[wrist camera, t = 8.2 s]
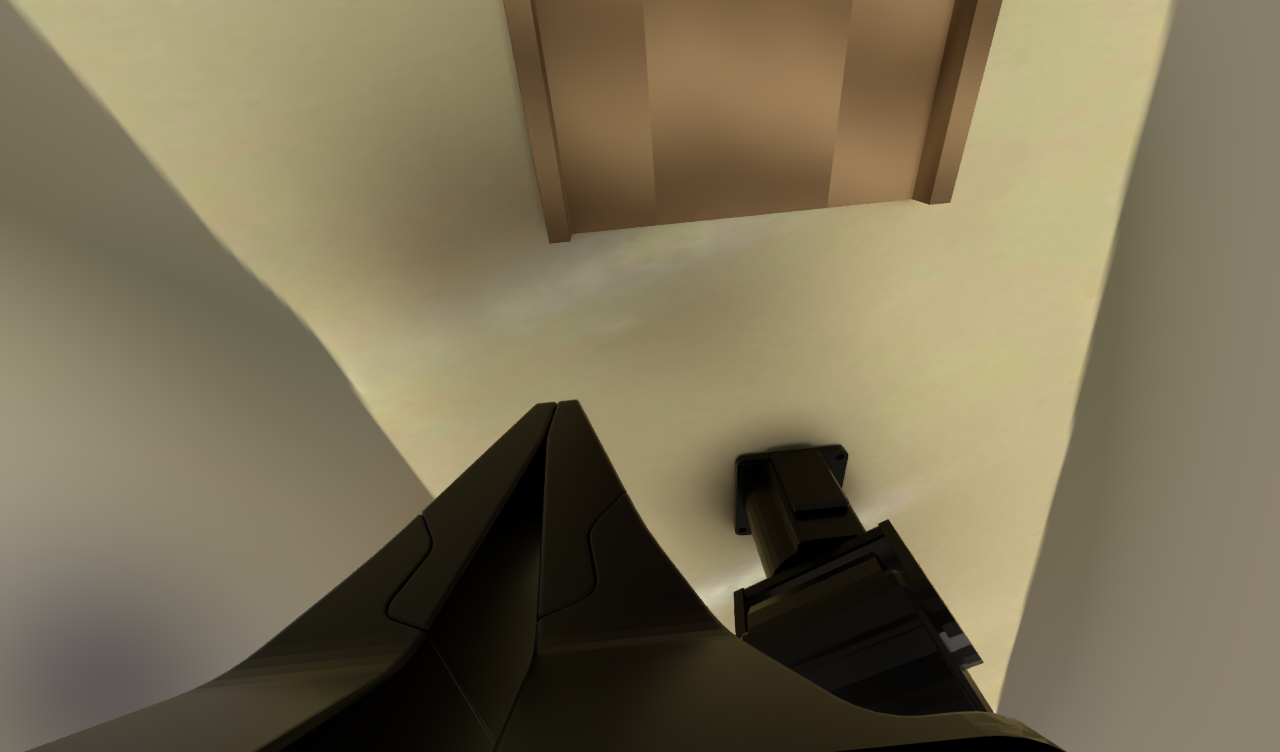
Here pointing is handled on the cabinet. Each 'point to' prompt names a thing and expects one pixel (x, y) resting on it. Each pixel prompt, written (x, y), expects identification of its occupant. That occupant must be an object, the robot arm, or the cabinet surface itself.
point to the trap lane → (743, 104)
